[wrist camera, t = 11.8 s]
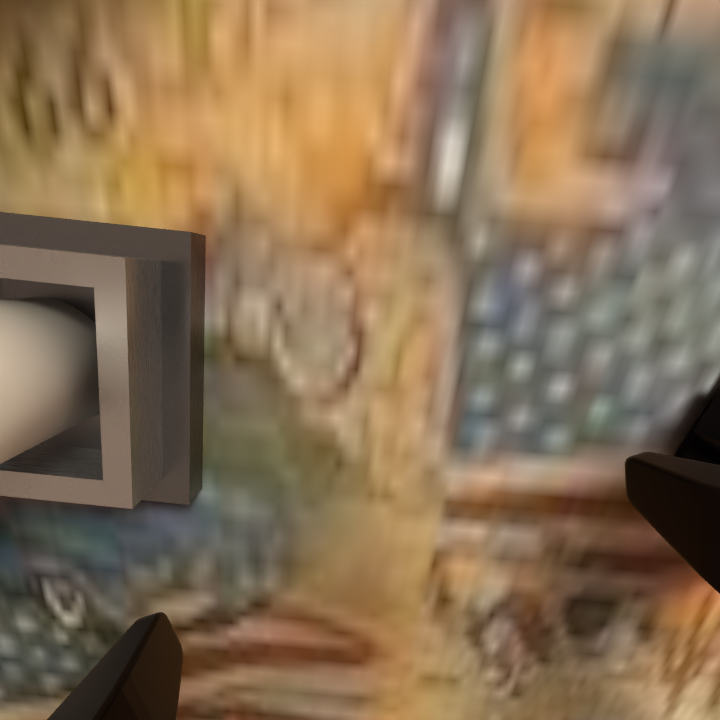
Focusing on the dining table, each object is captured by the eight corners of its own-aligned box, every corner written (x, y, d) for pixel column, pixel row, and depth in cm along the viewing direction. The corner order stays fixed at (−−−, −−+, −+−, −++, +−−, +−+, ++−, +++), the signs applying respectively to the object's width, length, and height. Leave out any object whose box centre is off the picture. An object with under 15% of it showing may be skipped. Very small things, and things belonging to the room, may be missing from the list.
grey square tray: (205, 235, 18) (160, 224, 14) (201, 488, 21) (163, 538, 17) (-77, 206, 18) (-203, 186, 14) (-42, 463, 20) (-138, 508, 17)
